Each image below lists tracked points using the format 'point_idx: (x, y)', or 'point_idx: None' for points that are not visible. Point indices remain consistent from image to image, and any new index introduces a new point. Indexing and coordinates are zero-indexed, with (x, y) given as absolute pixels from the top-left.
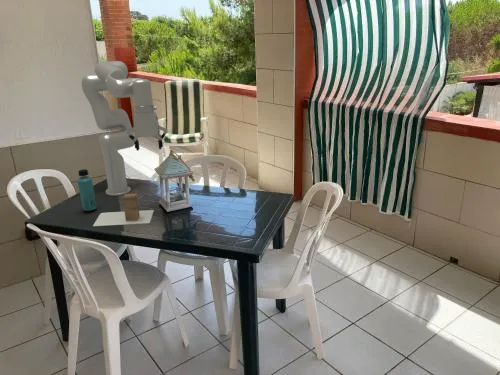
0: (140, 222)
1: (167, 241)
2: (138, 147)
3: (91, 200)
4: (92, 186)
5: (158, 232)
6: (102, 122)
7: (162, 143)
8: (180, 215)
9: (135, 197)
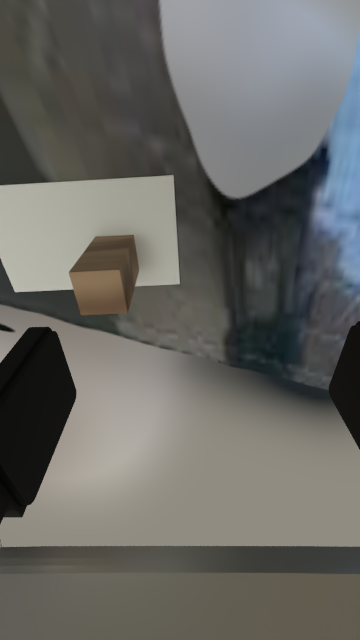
0: (150, 279)
1: (236, 367)
2: (58, 393)
3: None
4: None
5: (212, 330)
6: None
7: None
8: (274, 228)
9: (125, 297)
